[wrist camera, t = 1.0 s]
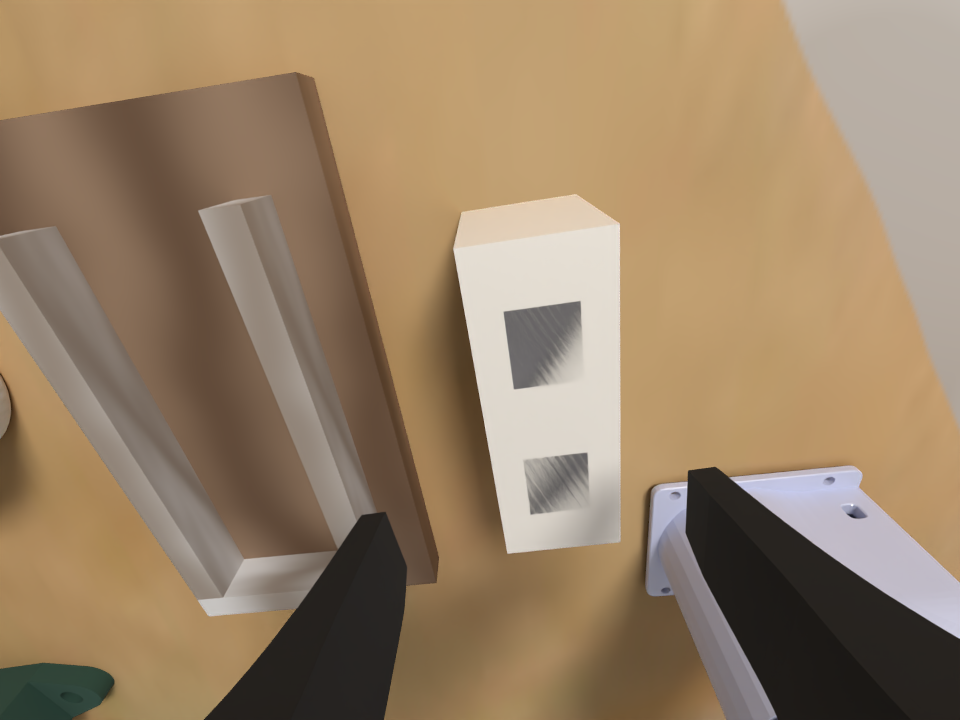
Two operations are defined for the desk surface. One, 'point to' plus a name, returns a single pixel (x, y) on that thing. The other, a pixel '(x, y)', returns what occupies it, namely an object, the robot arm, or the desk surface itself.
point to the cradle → (212, 329)
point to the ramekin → (4, 407)
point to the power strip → (547, 365)
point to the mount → (51, 691)
